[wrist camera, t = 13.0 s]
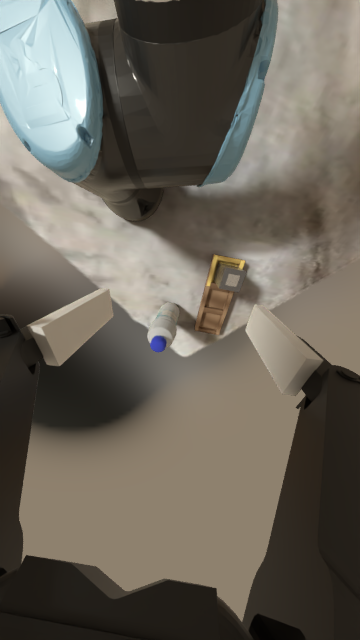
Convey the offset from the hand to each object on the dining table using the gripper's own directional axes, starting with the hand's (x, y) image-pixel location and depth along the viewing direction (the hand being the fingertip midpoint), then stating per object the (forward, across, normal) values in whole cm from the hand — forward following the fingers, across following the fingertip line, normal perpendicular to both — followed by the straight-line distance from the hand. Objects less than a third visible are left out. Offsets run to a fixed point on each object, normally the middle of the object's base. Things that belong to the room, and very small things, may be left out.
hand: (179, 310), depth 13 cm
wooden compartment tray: (+31, +9, -9) cm, 33 cm away
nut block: (+30, +10, -1) cm, 31 cm away
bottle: (+31, -4, -14) cm, 34 cm away
